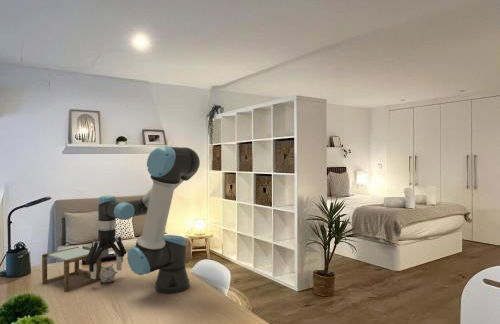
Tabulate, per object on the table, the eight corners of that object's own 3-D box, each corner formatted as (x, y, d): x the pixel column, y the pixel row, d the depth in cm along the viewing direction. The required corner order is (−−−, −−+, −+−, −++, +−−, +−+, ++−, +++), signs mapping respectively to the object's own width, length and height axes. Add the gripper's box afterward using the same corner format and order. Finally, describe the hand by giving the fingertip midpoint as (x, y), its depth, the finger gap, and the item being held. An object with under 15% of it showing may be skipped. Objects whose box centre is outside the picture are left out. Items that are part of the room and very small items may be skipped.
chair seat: (109, 255, 166) (109, 247, 166) (67, 267, 147) (66, 258, 147) (90, 251, 174) (90, 243, 174) (47, 261, 156) (47, 253, 156)
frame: (101, 280, 160) (101, 252, 160) (65, 292, 145) (65, 261, 145) (77, 273, 170) (77, 246, 170) (42, 283, 155) (42, 254, 155)
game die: (109, 291, 155) (111, 278, 150) (92, 285, 155) (93, 271, 150) (119, 276, 163) (121, 263, 157) (103, 270, 163) (104, 257, 158)
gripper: (124, 223, 169) (123, 265, 169) (76, 232, 148) (76, 280, 148) (134, 225, 165) (133, 268, 165) (86, 235, 144) (86, 284, 144)
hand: (106, 274), depth 157 cm, fingers open, 13 cm apart
